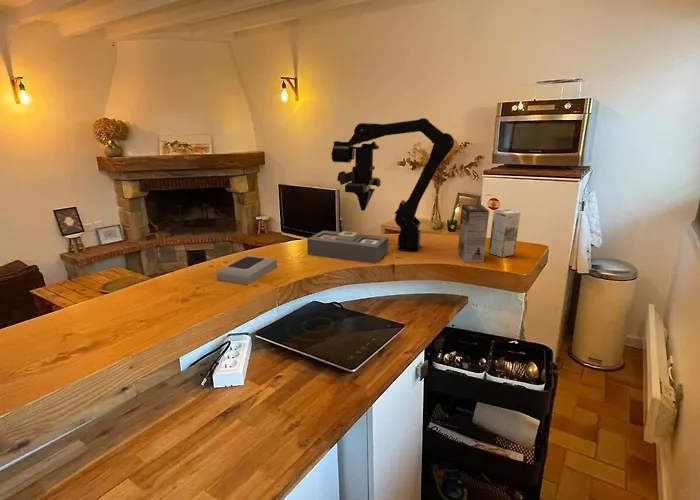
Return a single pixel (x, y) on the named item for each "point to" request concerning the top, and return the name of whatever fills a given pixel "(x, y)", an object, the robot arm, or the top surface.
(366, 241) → the cream key
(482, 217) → the coffee box
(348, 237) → the sage key
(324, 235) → the terracotta key
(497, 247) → the syrup box
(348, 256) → the gray keypad housing
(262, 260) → the grey flat block
